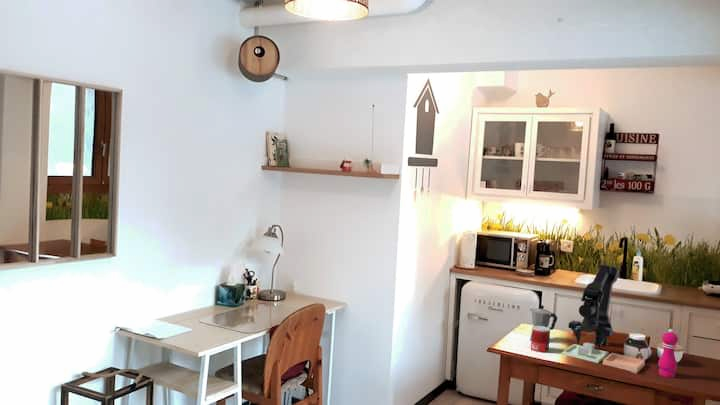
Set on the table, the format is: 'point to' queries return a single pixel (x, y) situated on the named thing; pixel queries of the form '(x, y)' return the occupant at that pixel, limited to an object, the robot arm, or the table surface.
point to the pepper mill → (668, 355)
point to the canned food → (540, 339)
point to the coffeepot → (542, 318)
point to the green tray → (594, 357)
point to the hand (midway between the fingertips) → (588, 346)
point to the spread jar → (637, 346)
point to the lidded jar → (677, 352)
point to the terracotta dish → (624, 362)
